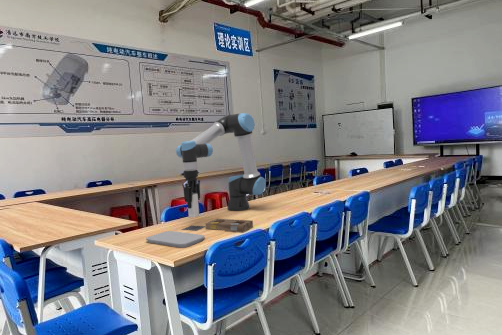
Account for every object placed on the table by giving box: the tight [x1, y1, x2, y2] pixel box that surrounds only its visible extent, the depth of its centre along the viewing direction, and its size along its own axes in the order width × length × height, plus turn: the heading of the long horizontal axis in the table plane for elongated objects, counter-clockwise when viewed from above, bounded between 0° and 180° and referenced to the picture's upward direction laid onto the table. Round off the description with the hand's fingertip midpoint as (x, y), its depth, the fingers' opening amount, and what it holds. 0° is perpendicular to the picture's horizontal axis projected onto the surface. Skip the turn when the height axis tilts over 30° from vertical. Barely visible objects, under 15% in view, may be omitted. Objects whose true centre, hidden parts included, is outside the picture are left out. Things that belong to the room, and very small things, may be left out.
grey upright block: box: [187, 193, 200, 218], centre depth 189 cm, size 4×4×13 cm
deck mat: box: [180, 225, 205, 232], centre depth 190 cm, size 10×10×1 cm
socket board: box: [204, 218, 254, 233], centre depth 186 cm, size 12×22×4 cm, turn 65°
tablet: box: [145, 230, 205, 249], centre depth 167 cm, size 16×26×2 cm, turn 57°
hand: (193, 213), depth 190 cm, fingers closed on grey upright block, 4 cm apart
